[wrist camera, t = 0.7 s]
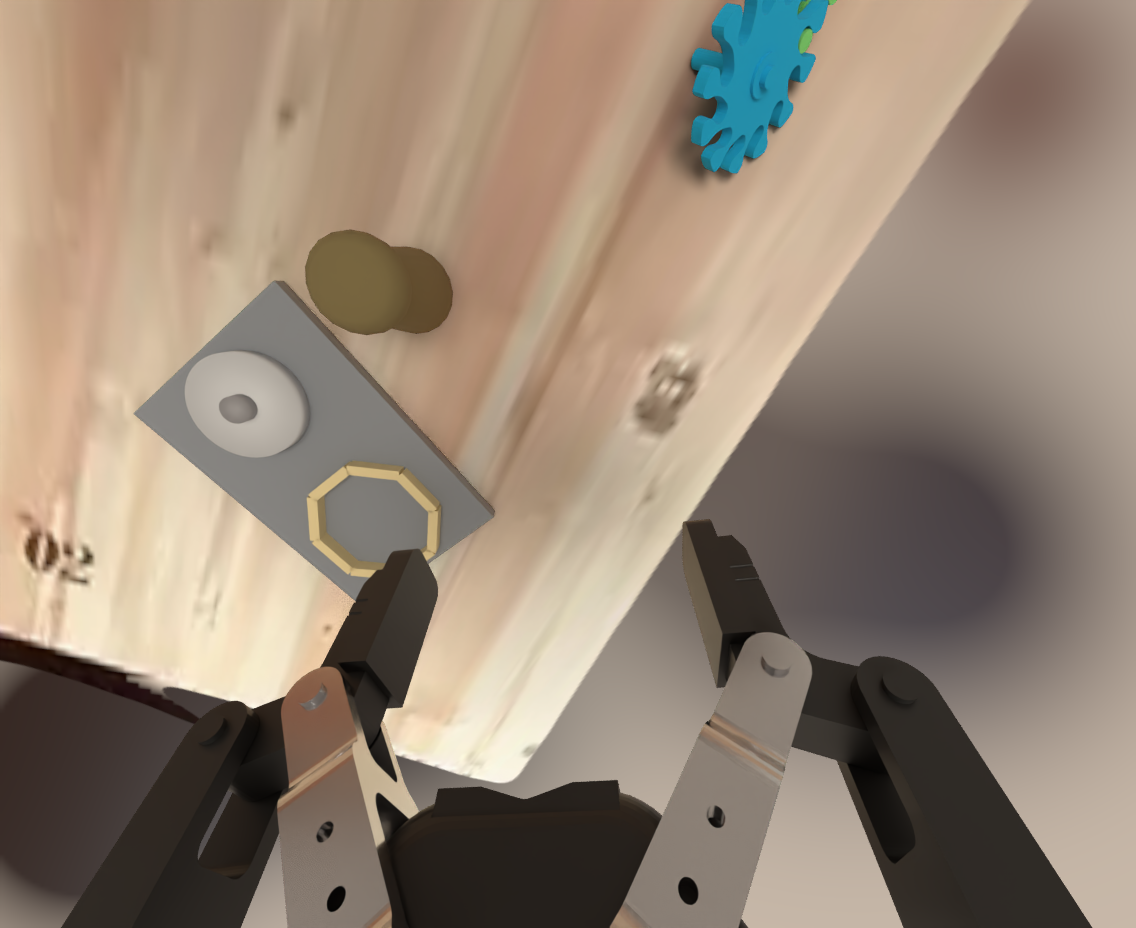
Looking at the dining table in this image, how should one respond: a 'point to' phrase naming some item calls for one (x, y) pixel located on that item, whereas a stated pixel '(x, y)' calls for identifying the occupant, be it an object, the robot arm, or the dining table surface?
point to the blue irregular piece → (752, 75)
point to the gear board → (312, 444)
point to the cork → (376, 284)
